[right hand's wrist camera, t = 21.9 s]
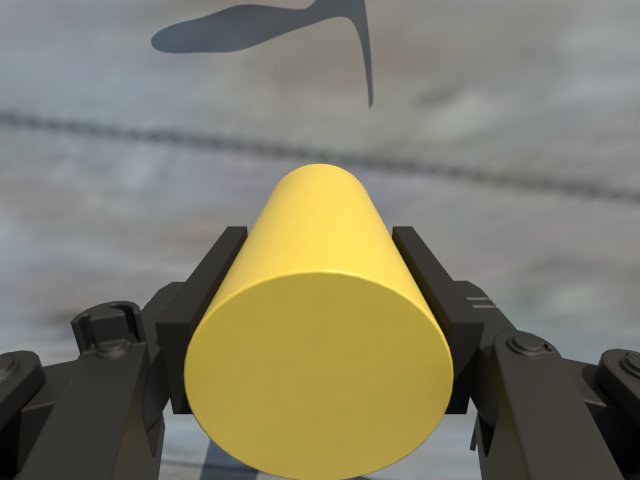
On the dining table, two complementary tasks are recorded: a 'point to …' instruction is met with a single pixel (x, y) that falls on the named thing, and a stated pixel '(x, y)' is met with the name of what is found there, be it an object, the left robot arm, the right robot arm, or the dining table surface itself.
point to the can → (318, 340)
